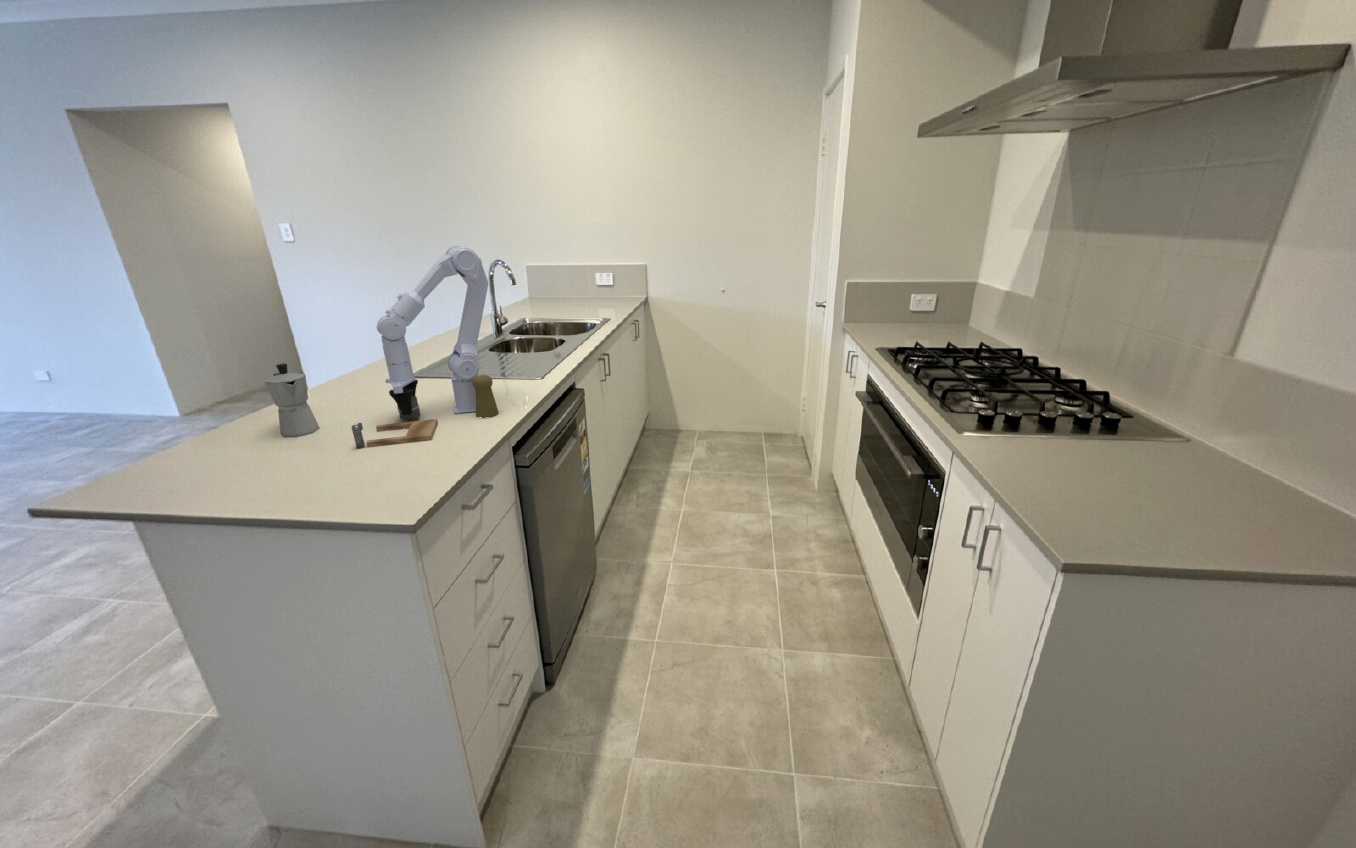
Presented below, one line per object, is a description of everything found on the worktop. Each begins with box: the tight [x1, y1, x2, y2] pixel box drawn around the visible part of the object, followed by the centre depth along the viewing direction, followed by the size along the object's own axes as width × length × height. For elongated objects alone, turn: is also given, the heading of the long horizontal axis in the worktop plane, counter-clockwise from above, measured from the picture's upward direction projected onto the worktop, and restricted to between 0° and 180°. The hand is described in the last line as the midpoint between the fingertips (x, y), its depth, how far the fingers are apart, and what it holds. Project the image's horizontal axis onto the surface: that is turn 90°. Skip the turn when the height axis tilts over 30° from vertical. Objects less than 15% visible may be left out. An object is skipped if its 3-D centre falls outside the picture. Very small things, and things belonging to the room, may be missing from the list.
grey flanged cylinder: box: [396, 395, 421, 420], centre depth 148 cm, size 5×5×5 cm
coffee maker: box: [264, 363, 321, 439], centre depth 141 cm, size 15×9×18 cm, turn 47°
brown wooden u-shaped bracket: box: [365, 418, 439, 448], centre depth 140 cm, size 14×12×1 cm
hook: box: [351, 422, 366, 450], centre depth 133 cm, size 2×5×6 cm, turn 16°
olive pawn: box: [472, 374, 499, 419], centre depth 151 cm, size 6×6×11 cm
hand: (409, 410), depth 149 cm, fingers closed on grey flanged cylinder, 5 cm apart
